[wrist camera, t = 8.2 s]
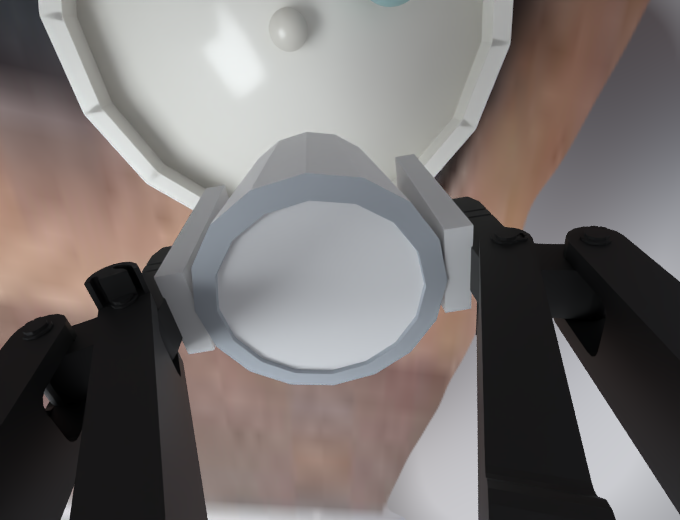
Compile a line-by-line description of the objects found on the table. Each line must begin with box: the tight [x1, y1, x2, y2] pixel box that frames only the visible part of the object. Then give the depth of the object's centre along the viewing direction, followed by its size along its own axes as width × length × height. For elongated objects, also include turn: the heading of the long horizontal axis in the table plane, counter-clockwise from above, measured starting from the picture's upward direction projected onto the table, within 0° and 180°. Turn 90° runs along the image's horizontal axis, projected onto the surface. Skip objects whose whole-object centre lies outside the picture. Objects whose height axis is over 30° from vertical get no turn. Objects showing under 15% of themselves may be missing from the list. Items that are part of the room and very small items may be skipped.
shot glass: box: [191, 132, 447, 385], centre depth 14 cm, size 7×7×7 cm
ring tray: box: [38, 0, 513, 210], centre depth 22 cm, size 23×23×2 cm
